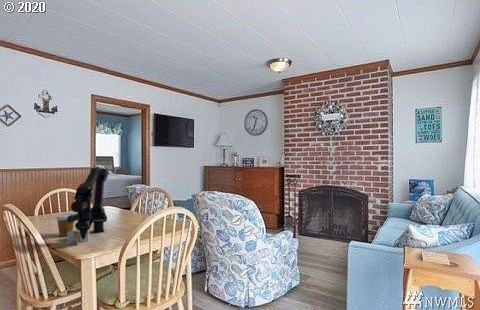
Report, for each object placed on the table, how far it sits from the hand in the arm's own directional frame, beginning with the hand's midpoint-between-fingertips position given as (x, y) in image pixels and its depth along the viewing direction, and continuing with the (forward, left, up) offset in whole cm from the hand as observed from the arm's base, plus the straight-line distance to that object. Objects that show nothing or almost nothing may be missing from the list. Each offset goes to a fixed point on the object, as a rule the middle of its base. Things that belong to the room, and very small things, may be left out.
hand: (84, 236), depth 159 cm
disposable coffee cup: (-16, -13, -3) cm, 20 cm away
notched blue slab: (0, -3, -2) cm, 4 cm away
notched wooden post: (0, -4, -2) cm, 4 cm away
